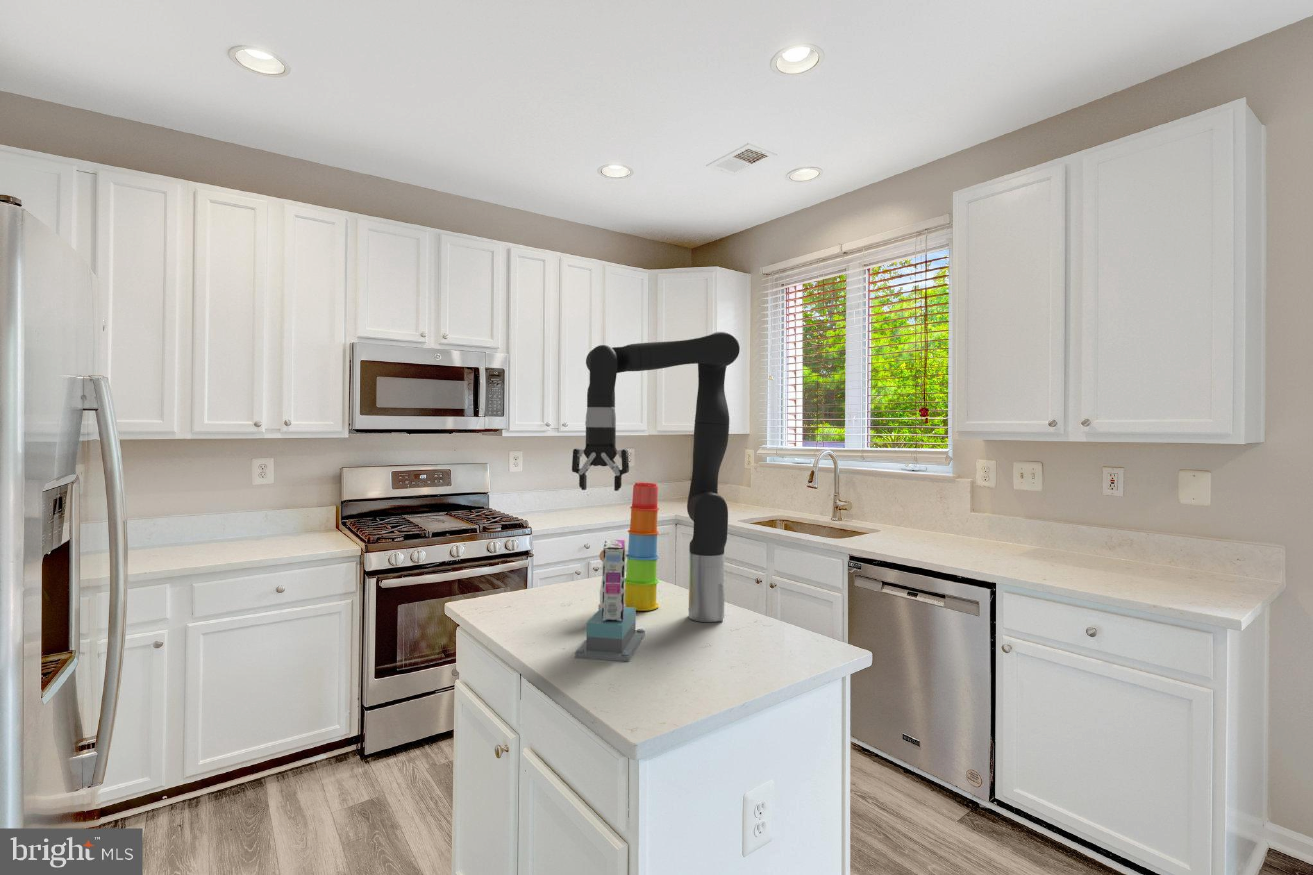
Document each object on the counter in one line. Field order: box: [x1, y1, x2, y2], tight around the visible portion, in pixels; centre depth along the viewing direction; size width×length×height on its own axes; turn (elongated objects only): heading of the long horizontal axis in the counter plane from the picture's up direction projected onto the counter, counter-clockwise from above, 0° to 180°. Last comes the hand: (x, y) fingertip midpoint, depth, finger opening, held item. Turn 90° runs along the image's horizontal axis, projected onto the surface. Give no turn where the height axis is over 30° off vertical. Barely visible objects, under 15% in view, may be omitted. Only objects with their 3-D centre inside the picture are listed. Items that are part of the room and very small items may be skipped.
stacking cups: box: [625, 482, 660, 612], centre depth 175 cm, size 10×10×35 cm
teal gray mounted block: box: [574, 607, 646, 662], centre depth 143 cm, size 12×18×7 cm, turn 170°
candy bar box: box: [602, 539, 626, 622], centre depth 143 cm, size 11×5×16 cm, turn 3°
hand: (600, 490), depth 158 cm, fingers open, 8 cm apart
